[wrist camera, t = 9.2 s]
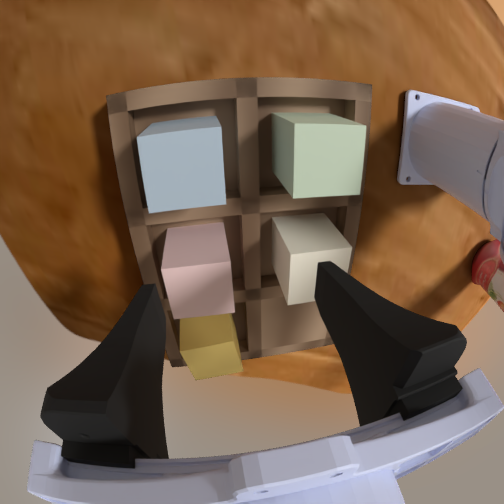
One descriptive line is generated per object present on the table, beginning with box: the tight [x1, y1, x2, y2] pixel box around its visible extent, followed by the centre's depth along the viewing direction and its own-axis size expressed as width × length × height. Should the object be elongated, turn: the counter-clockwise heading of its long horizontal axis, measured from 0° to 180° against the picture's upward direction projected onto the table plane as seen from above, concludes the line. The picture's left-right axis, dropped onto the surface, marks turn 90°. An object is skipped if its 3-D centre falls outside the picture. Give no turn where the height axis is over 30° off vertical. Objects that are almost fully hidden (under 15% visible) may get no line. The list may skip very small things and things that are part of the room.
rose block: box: [161, 222, 235, 319], centre depth 20 cm, size 4×4×5 cm
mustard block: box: [180, 313, 243, 380], centre depth 24 cm, size 4×4×5 cm
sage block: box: [271, 113, 366, 199], centre depth 17 cm, size 4×4×5 cm
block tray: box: [106, 77, 372, 367], centre depth 22 cm, size 16×24×2 cm
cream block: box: [272, 213, 352, 305], centre depth 21 cm, size 4×4×5 cm
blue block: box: [137, 116, 226, 213], centre depth 16 cm, size 4×4×5 cm
